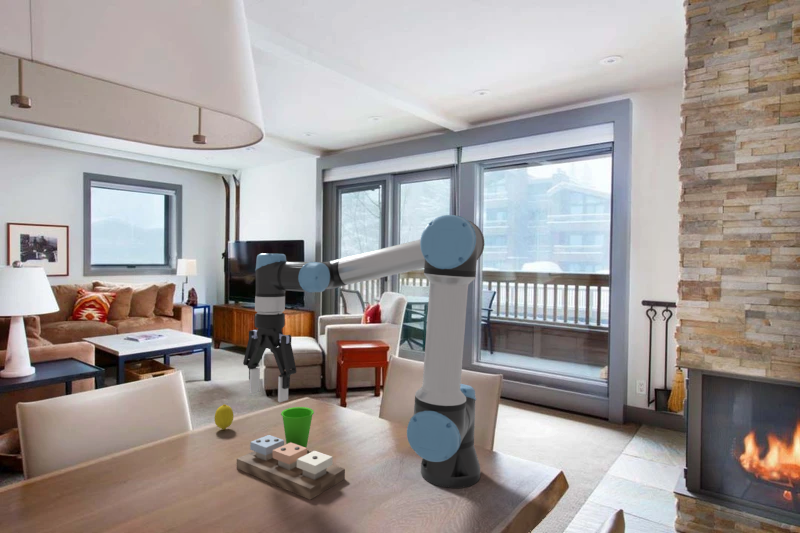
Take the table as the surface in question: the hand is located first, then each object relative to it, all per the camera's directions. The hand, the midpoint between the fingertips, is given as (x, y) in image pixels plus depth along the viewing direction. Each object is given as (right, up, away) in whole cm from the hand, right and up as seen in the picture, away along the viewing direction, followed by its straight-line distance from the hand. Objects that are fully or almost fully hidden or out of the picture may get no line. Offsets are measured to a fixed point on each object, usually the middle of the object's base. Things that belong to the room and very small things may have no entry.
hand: (268, 396), depth 119 cm
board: (+7, -18, -4) cm, 20 cm away
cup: (+5, -18, +9) cm, 21 cm away
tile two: (+7, -16, -5) cm, 18 cm away
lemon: (-21, -17, +23) cm, 35 cm away
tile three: (0, -16, 0) cm, 16 cm away
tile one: (+14, -17, -9) cm, 23 cm away
